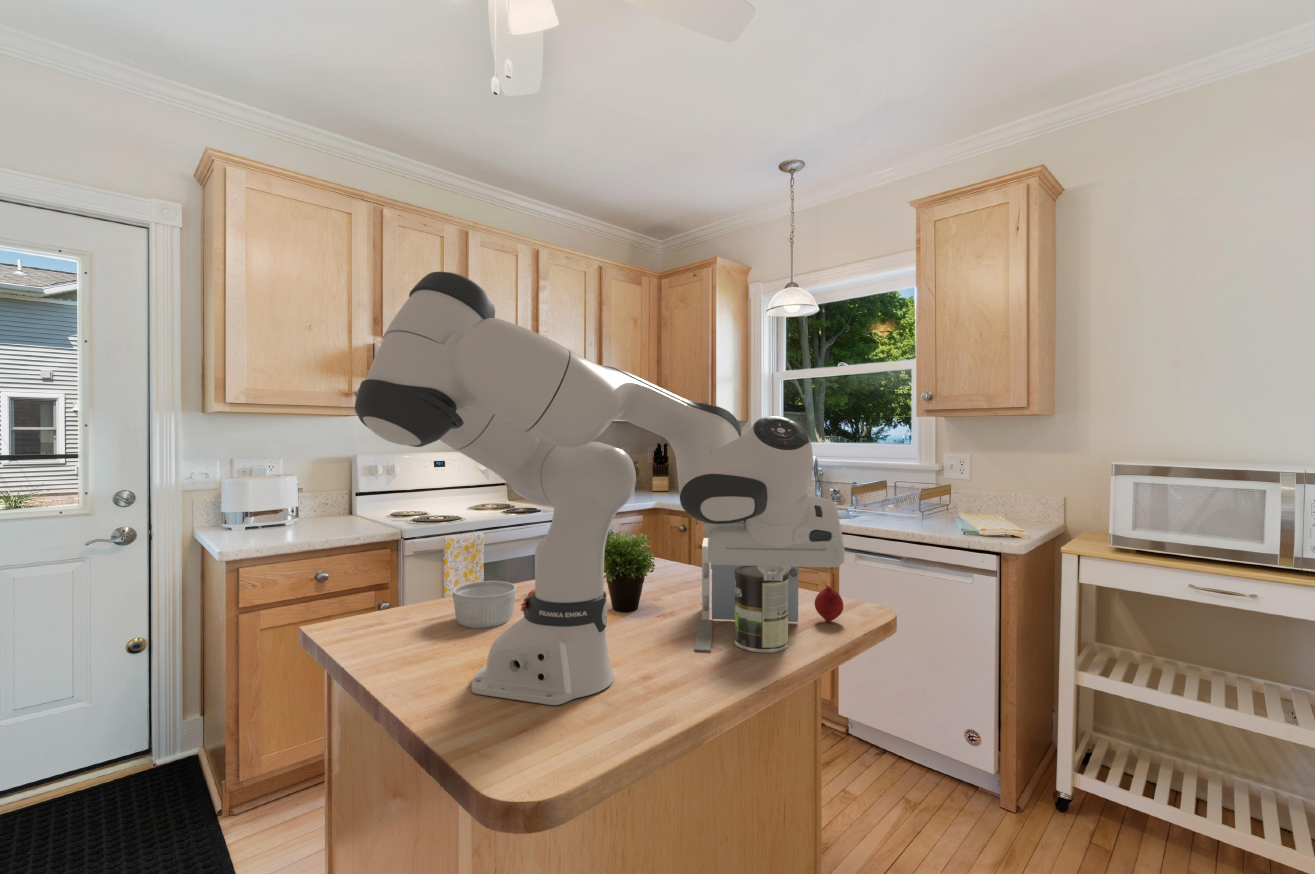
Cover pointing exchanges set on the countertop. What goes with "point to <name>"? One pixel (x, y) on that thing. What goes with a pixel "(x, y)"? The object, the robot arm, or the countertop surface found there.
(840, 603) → the onion
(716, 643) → the countertop surface
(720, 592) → the door
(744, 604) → the coffee can
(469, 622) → the ramekin
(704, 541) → the door frame
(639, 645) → the countertop surface
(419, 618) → the countertop surface
